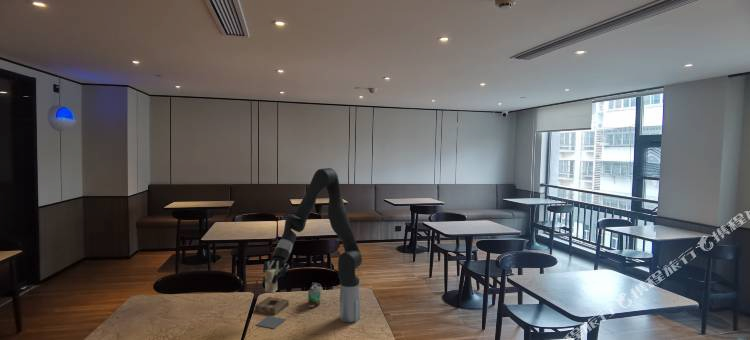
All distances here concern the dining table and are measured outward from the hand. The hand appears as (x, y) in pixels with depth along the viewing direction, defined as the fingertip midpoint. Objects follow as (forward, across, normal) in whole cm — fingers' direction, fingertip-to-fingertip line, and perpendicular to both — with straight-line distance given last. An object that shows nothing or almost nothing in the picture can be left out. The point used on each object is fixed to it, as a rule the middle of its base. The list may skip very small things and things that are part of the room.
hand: (268, 282), depth 178 cm
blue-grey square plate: (+13, 0, +15) cm, 20 cm away
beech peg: (+2, 0, +5) cm, 5 cm away
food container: (-5, +10, +34) cm, 35 cm away
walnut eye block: (+3, -9, +25) cm, 27 cm away
